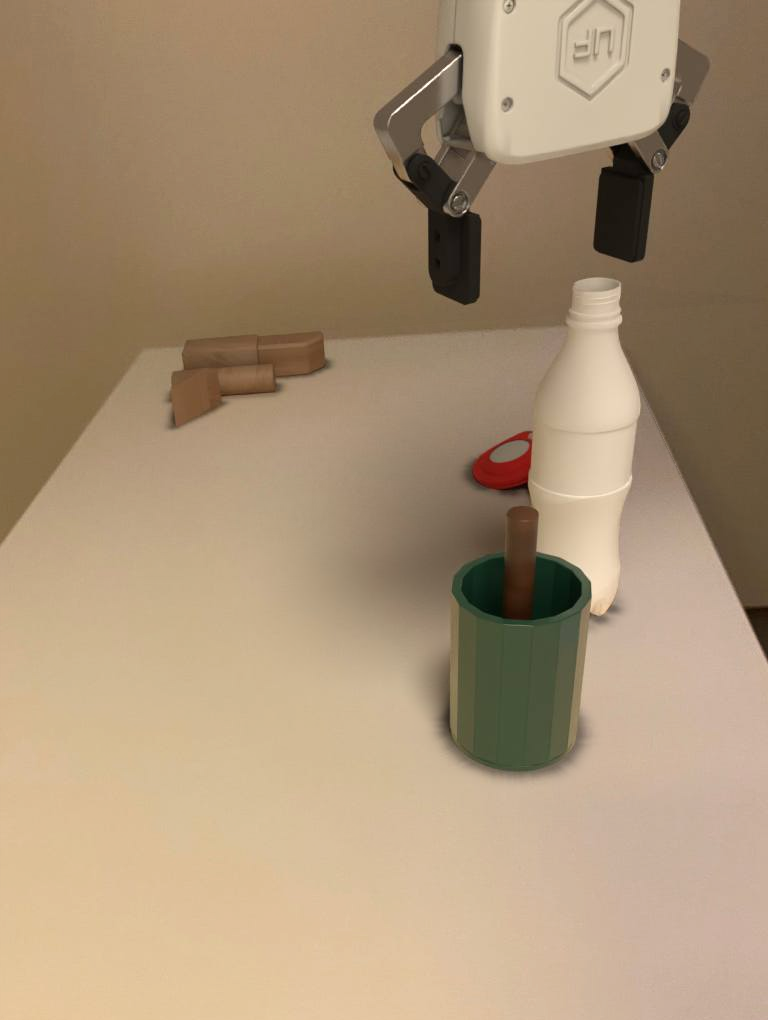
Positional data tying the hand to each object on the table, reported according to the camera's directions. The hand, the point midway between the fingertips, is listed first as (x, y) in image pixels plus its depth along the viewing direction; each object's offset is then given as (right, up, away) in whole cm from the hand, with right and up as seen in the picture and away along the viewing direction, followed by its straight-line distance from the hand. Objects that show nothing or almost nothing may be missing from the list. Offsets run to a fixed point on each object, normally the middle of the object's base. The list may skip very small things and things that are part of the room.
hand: (538, 276), depth 49 cm
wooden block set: (-17, +11, +70) cm, 72 cm away
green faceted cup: (+3, -24, +18) cm, 30 cm away
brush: (+2, -24, +17) cm, 29 cm away
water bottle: (+10, -16, +29) cm, 34 cm away
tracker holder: (+10, -3, +46) cm, 47 cm away
